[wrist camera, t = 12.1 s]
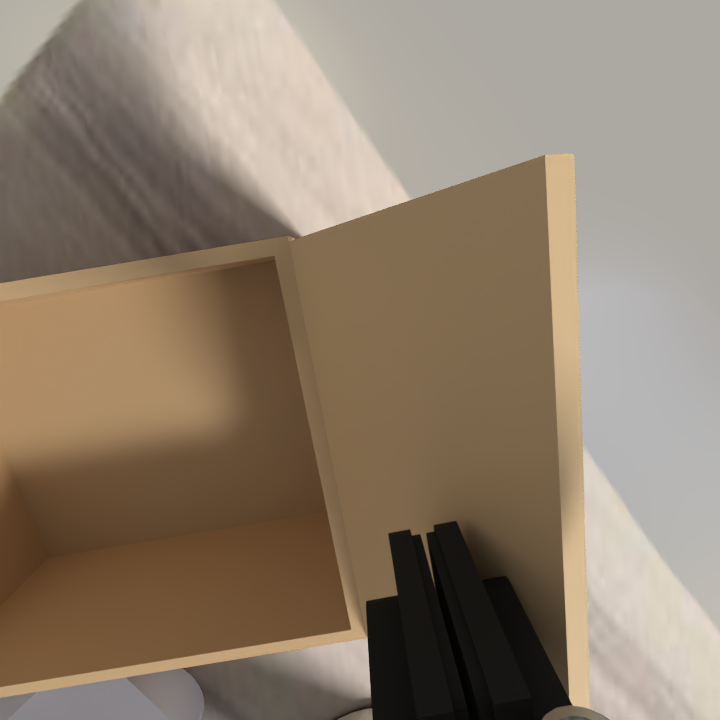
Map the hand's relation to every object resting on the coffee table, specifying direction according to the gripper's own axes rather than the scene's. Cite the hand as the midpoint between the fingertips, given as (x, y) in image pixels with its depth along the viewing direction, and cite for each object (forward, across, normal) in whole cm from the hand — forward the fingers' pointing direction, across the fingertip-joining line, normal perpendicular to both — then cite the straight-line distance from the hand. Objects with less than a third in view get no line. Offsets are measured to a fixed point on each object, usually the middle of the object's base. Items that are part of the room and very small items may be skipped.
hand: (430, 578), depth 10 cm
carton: (+17, +14, 0) cm, 22 cm away
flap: (+2, 0, 0) cm, 2 cm away
